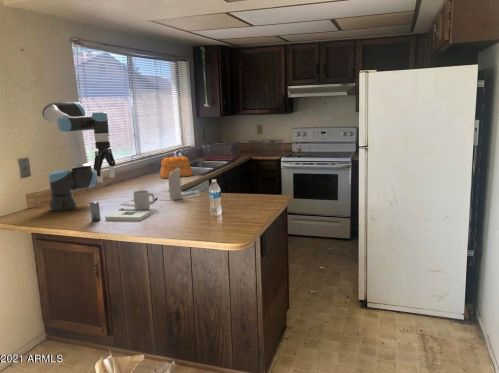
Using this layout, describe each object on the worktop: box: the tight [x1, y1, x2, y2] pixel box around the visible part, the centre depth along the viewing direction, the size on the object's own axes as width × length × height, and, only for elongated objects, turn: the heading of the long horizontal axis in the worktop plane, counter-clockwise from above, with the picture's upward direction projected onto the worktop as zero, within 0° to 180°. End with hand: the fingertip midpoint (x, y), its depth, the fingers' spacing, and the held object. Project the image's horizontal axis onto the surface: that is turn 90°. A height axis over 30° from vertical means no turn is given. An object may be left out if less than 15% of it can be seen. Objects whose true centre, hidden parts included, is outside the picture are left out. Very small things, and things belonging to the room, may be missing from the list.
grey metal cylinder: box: [89, 201, 102, 223], centre depth 228 cm, size 5×5×10 cm
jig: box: [104, 207, 153, 222], centre depth 234 cm, size 20×16×3 cm
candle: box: [159, 168, 183, 201], centre depth 273 cm, size 7×14×20 cm, turn 108°
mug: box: [133, 189, 156, 209], centre depth 248 cm, size 12×8×11 cm
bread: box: [159, 155, 193, 179], centre depth 361 cm, size 16×26×17 cm, turn 116°
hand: (106, 179), depth 232 cm, fingers open, 13 cm apart
